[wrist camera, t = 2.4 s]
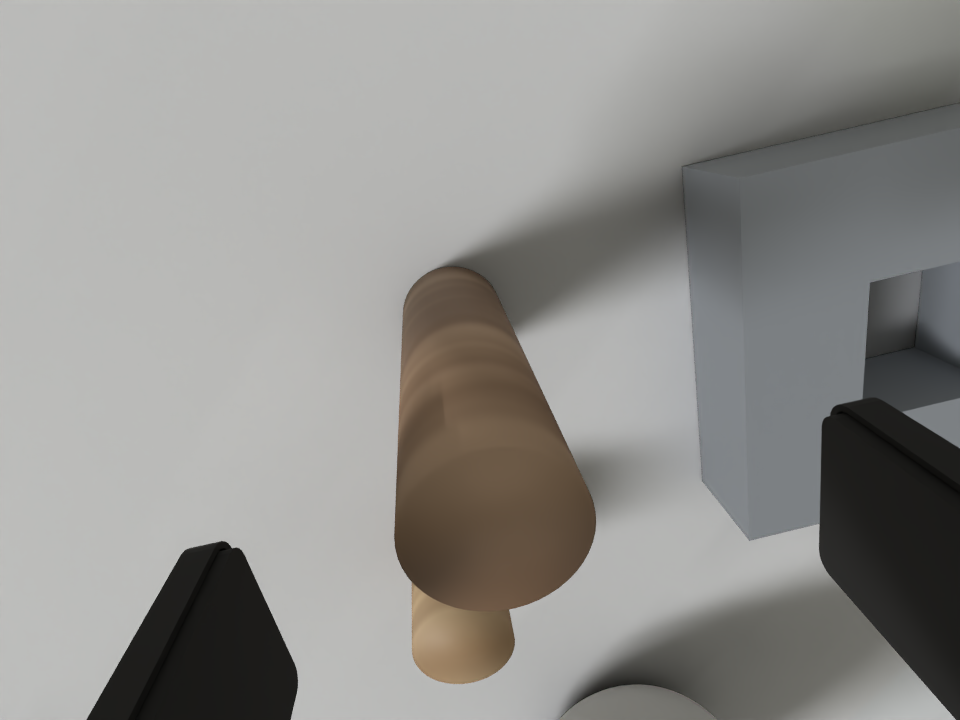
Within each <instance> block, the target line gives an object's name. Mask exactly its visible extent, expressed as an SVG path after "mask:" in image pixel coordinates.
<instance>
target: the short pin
mask: <svg viewBox="0 0 960 720" xmlns="http://www.w3.org/2000/svg"><path fill="white" fill-rule="evenodd" d="M514 645H515V638H514V633H513V628H512V623H511V618H510V613H509V609H508V610H502V611H491V612H486V611H470V610H464V609H459V608H455V607H452V606H449V605H446V604H443V603H441V602H439V601H437V600H435V599H433V598H431V597H430V596H428V595H427V594H425V593H423V592H422V591H421V590H420V589H419V588H418V587H416V586H415V585H414V584H413V582H412V655H413V658H414V661H415V663H416V665H417V666H418V668H419V669H420V670H421V671H422V672H423V673H424V674H426V675H427V676H429V677H430V678H432V679H435V680H437V681H440V682H444V683H451V684H465V683H471V682H476V681H479V680H482V679H485V678H487V677H489V676H491V675H493V674H494V673H496V672H497V671H498V670H500V669H501V668H502V667H503V666H504V665H505V664H506V663H507V661H508V660H509V659H510V657H511V655H512V653H513V650H514Z"/></svg>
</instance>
